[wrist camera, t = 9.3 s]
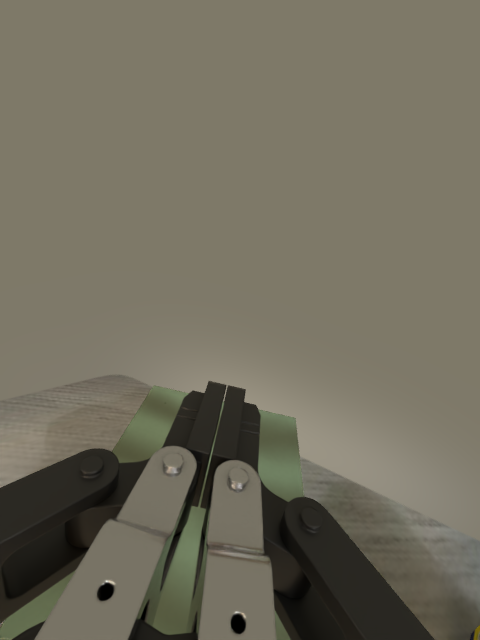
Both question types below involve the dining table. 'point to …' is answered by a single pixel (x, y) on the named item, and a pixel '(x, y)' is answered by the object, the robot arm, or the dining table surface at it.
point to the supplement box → (476, 634)
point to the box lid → (140, 444)
